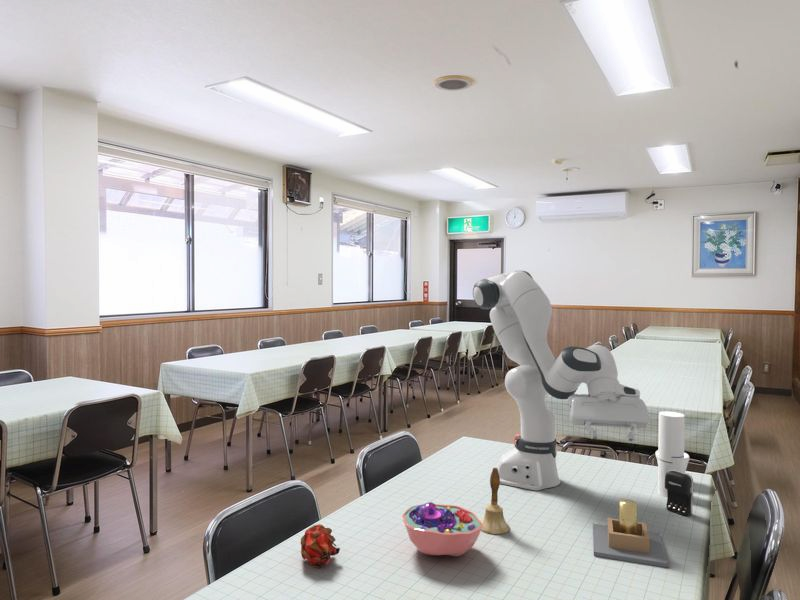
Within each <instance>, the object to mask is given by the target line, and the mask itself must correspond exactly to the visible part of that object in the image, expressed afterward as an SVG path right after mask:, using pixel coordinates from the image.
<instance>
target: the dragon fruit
mask: <svg viewBox="0 0 800 600" xmlns="http://www.w3.org/2000/svg"><path fill="white" fill-rule="evenodd" d="M332 532H333V530H332V529H331V527H325V526H324V525H323V524H321V523H319V524H314V525H311V527H308V528H307V529H306V530H305V531H304V535H302V536H301V537H300V546H301V547H300V548H301V550H300V554H301V558H302V560H307V561H308V563H309V564H310V565H311V566H312V567H313V568H317V569H320V568H321V567H320V565H321V564H325V565H328V564H329V563H330V562H331V556H337V555H338V554H339V553H340V552H341V551H340V550H341V548H340V547H337V544H335V543H334V542H335V541H336V537H334V535H332Z"/></svg>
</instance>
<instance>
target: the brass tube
mask: <svg viewBox="0 0 800 600" xmlns="http://www.w3.org/2000/svg"><path fill="white" fill-rule="evenodd" d="M618 506H619V511H618V512H619V515H618V517H619V533H625V534H632V535H637V522H638V502H637V501H635V500H633V499H630V498H621V499H619V505H618Z"/></svg>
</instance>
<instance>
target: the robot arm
mask: <svg viewBox="0 0 800 600" xmlns="http://www.w3.org/2000/svg"><path fill="white" fill-rule="evenodd" d="M472 296H473V301H474V303H475V304H476V306H478V307H479V308H480V309H481V310H490V311H489V319H490V323H491V326H492V328H493V331H494V334H495V335H496V337H497V339H498V342H499V344H500V345H501V348H502V349H503V351H504V353H505V355H506V357H507V358H508V359H510V360H511V361H512V362H515V363H517V364H518V365H519V366H516V367H513V368H511V369H510V370H509V371H507V373H506V374H505V377H504V387H505V389H506V391H507V394H509V395H510V396H511V397H512V398H513V399H514V400H515V403H516V405H517V408H518V411H519V414H520V434H519V433H517V434H516V435H514V447H512V448H511V449H510V450H508V451H507V452H505V453H503V454H502V455H500V458H499V460H498V461H497V462H498V463H497V467H496V468H497V469H498V473H499V476H500V485H506V486H511V487H515V488H516V487H517V488H521V489H526V490H531V491H540V490H542V489H549V488H553V487H557V486H558V485H560V484H561V480H560V477H559V472H558V469H557V468H558V466H557V455H558V444H557V439H556V416H555V414H554V413H553V412H552V411H551V410H550V409H549V408H548V406H547V403H546V396H547V397H549V396H550V397H553V398H555V399H558V400H567V403H568V404H567V405H568V407H570V414H569V415H570V422H571V424H572V425H575V426H584V429H585V430H586V431H587V433H588V434H589V436H590V439H591V440H597V439H598V431H597V430H594V429H593V428H592V427H610V428H629V431H628V432H627V434H626V438H627V441H628V442H635V440H636V436H635V433H636V431H637V429H646V428H647V427H648V426H649V424H650V420H651V417H650V414H649V411H648V408H647V406H646V403H645V401H644V400H643V399H641V393H640V390H639V389H638V388H634V387H629V386H626V385H624V384H621V382H620V381H619V380H618V368H617V363H616V361H615V358H614V356H613V354H612V352H611V351H610V350H609V348H608V347H606V346H604V345H600V344H593V345H589V346H588V347H585V348H584V347H581V346H566V347H565V348H563V350H562V351H561V352H560V354H559V355H558V356H557V358H555V356H554V354H553V351H552V350H551V348H550V347H549V346H550V345H549V344H548V330H549V325H550V322H551V320H552V319H551V318H552V313H553V308H552V304H551V301H550V299H549V297H548V296H547V294H546V293H545V292H544V290H543V289H542V288H541V286H540V285H539V284H538V283H537V282H536V280H534V278H533V276H532V275H531V273H530V272H528V271H526V270H515V271H511V272H510V271H509V272H503V273H500V274H498V275H497V274H496V275H494V276H490V277H488V278H482V279H480V280H478V281H476V283H475V284H474V286H473V289H472ZM582 383H583V384H585V385H586V387H587V392H588V394H586V393H585V394H584V393H582V394H578V393H576V392H577V391H578V389H579V387H580V386H581V385H582ZM491 473H492V471H491V472H490V474H491Z"/></svg>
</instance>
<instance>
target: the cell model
mask: <svg viewBox="0 0 800 600" xmlns="http://www.w3.org/2000/svg"><path fill="white" fill-rule="evenodd" d="M401 517H402V521H403V524H404V527H405V528H406V532H407V535H408V537H409V540H410V542H411V543H412V544H413V545H414V547H415V548H416V549H417V550H418V551H419V552H420V553H421V554H424V555H428V556H449V557H450V556H451V557H460V556H462V555H463V554H465V553H467V552H468V551H470V550H471V549H472V547H473V546H475V544H476V542H477V540H478V538H479V537H480V533H481V531H482V530H481V529H482V523H481V520H480V519H479V517H477V516H476V514H475V513H474V512H472V511H470V510H468V509H466V508H464V507H462V506H460V505H452V504H451V505H450V504H437V503H434V502H430V501H428V502H425V503H423V504H422V503H421V504H417V505H413V506H411V507H409V508H407V509H406V510H405V511H404V512H403V513H402V515H401Z"/></svg>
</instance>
